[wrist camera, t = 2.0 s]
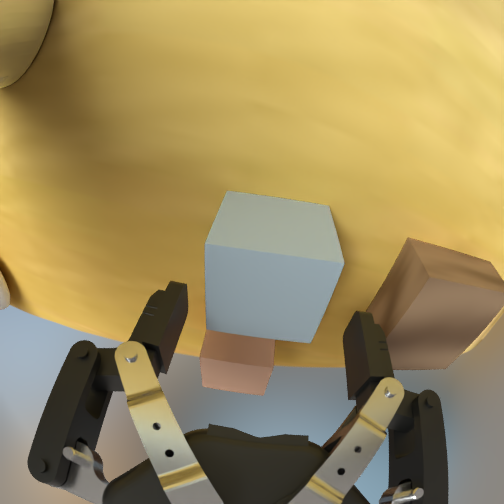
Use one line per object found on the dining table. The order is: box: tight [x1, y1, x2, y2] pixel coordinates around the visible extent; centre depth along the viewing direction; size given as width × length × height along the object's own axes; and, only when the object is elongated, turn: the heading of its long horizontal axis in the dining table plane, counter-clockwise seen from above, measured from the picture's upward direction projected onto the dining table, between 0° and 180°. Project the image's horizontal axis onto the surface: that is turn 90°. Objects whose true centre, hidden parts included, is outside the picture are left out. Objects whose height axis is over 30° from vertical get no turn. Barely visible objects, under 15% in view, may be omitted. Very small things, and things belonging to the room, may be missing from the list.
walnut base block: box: [366, 238, 504, 370], centre depth 16 cm, size 9×9×4 cm
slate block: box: [205, 191, 345, 343], centre depth 14 cm, size 6×6×5 cm
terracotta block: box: [200, 330, 275, 395], centre depth 19 cm, size 4×4×5 cm
